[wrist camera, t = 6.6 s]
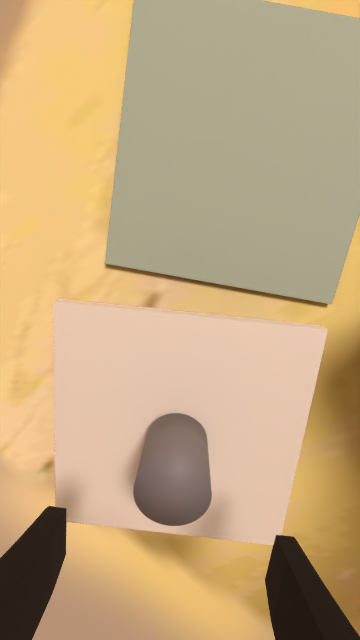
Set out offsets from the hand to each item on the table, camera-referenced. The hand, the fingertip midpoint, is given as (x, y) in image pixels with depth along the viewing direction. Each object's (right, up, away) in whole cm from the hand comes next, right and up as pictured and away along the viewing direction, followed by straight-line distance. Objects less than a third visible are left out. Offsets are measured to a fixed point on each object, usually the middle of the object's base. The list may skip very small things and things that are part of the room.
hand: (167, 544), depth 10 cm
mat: (+4, +17, +6) cm, 18 cm away
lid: (0, +2, +5) cm, 6 cm away
